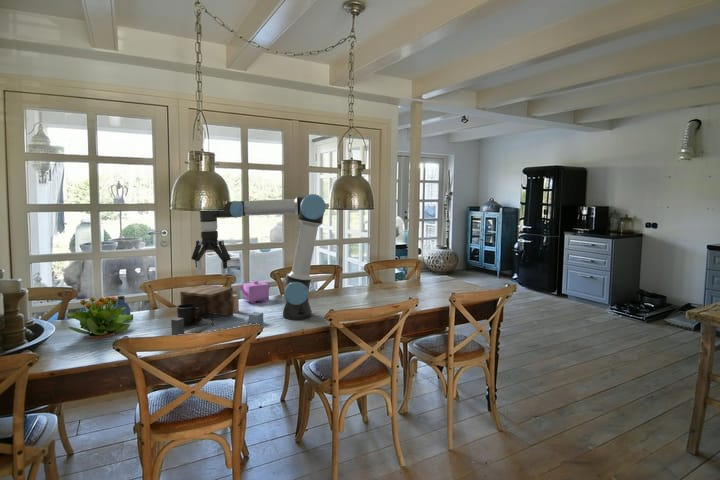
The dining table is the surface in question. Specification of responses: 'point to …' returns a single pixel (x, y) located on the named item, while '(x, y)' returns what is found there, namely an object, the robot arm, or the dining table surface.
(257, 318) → the cube
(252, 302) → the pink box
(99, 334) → the potted flower
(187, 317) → the mug
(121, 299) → the perfume bottle
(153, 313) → the dining table surface
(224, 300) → the shelf
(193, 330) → the dark grey angular block
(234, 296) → the l-shaped block
